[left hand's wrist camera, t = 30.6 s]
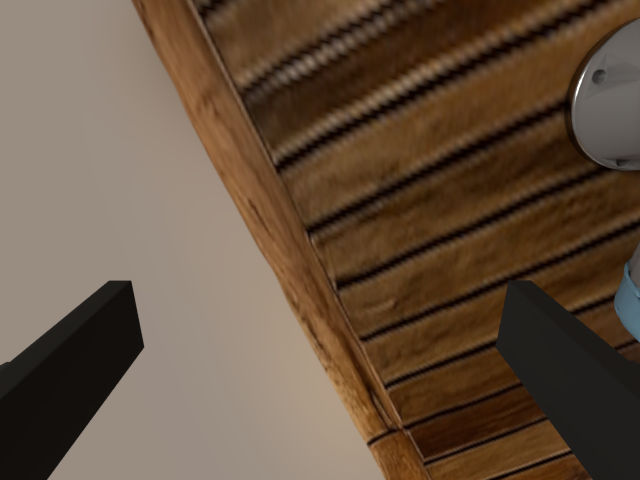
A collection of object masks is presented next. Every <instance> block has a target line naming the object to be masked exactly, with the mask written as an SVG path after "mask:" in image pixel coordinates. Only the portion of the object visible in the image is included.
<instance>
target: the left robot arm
mask: <svg viewBox="0 0 640 480" xmlns="http://www.w3.org/2000/svg"><path fill="white" fill-rule="evenodd" d="M565 124H566V129H567V133H568V136H569V138H570V140H571V142H572V144H573V146H574V147H575V148H576V150H577V151H578V152H579V153H580V154H581V155H582V156H583V157H584V158H586V159H587V160H589V161H590V162H592V163H594V164H597V165H599V166H603V167H607V168H612V169H617V170H629V171H631V170H640V17H639V18H636V19H633V20H631V21H628V22H626V23H624V24H622V25H620V26H618V27H617V28H615V29H614V30H612V31H611V32H609V33H608V34H607V35H605V36H604V37H603V38H602V39H601V40H600V41H598V42H597V43H596V44H595V45H594V47H593V48H592V49H591V50H590V51H589V52H588V53H587V55H586V56H585V57H584V59H583V60H582V62H581V63H580V65H579V66H578V68H577V70H576V72H575V74H574V76H573V78H572V81H571V83H570V86H569V89H568V92H567V97H566V102H565ZM614 306H615V310H616V312H617V315H618V316H619V318H620V320H621V322H622V324H623V325H624V327H625V328H626V329H627V330H628V331H629V332H630V333H631V334H632V335H633V336H634V337H635V338H636V339H637V340H638V341H639V342H640V242H639V244H638V246H637V248H636V250H635V252H634V254H633V255H632V257H631V259H630V260H629V261H628V262H627V263H626V264H625V267H624V276H623V279H622V281H621V284H620V286H619V288H618V291H617V293H616V295H615V300H614ZM143 348H144V343H143V338H142V333H141V328H140V323H139V318H138V313H137V308H136V303H135V297H134V293H133V287H132V282H131V281H108V282H107V283H106V284H104V285H103V286H102V287H101V288H100V289H98V290H97V291H96V292H95V293H93V294H92V295H91V296H90V297H89V298H87V299H86V300H85V301H84V302H82V303H81V304H80V305H79V306H78V307H76V308H75V309H74V310H73V311H71V312H70V313H69V314H68V315H67V316H65V317H64V318H63V319H62V320H61V321H59V322H58V323H57V324H56V325H54V326H53V327H52V328H51V329H50V330H48V331H47V332H46V333H45V334H43V335H42V336H41V337H40V338H39V339H37V340H36V341H35V342H34V343H33V344H31V345H30V346H29V347H28V348H26V349H25V350H24V351H23V352H22V353H20V354H19V355H18V356H17V357H15V358H14V359H13V360H12V361H11V362H6V363H4V364H2V365H0V480H47V479H48V478H49V476H50V475H51V474H52V472H53V471H54V470H55V468H56V467H57V465H58V464H59V463H60V461H61V460H62V459H63V457H64V456H65V455H66V453H67V452H68V450H69V449H70V448H71V446H72V445H73V444H74V442H75V441H76V440H77V438H78V437H79V435H80V434H81V433H82V431H83V430H84V429H85V427H86V426H87V425H88V423H89V422H90V420H91V419H92V418H93V416H94V415H95V414H96V412H97V411H98V410H99V408H100V407H101V405H102V404H103V403H104V401H105V400H106V399H107V397H108V396H109V395H110V393H111V392H112V390H113V389H114V388H115V386H116V385H117V384H118V382H119V381H120V380H121V378H122V377H123V375H124V374H125V373H126V371H127V370H128V369H129V367H130V366H131V365H132V363H133V362H134V361H135V359H136V358H137V356H138V355H139V354H140V352H141V351H142V350H143ZM496 348H497V350H498V351H499V352H500V354H501V355H502V356H503V358H504V359H505V361H506V362H507V363H508V365H509V366H510V367H511V369H512V370H513V371H514V373H515V374H516V376H517V377H518V378H519V380H520V381H521V382H522V384H523V385H524V386H525V388H526V389H527V390H528V392H529V393H530V395H531V396H532V397H533V399H534V400H535V401H536V403H537V404H538V405H539V407H540V408H541V410H542V411H543V412H544V414H545V415H546V416H547V418H548V419H549V420H550V422H551V423H552V425H553V426H554V427H555V429H556V430H557V431H558V433H559V434H560V435H561V437H562V438H563V440H564V441H565V442H566V444H567V445H568V446H569V448H570V449H571V450H572V452H573V453H574V455H575V456H576V457H577V459H578V460H579V461H580V463H581V464H582V465H583V467H584V468H585V470H586V471H587V472H588V474H589V475H590V476H591V478H592V479H593V480H640V364H639V363H637V362H635V361H628V360H627V359H626V358H625V357H623V356H622V355H621V354H620V353H619V352H617V351H616V350H615V349H614V348H612V347H611V346H610V345H609V344H608V343H606V342H605V341H604V340H603V339H601V338H600V337H599V336H598V335H597V334H595V333H594V332H593V331H592V330H590V329H589V328H588V327H587V326H586V325H584V324H583V323H582V322H581V321H579V320H578V319H577V318H576V317H575V316H573V315H572V314H571V313H570V312H569V311H567V310H566V309H565V308H564V307H562V306H561V305H560V304H559V303H558V302H556V301H555V300H554V299H553V298H551V297H550V296H549V295H548V294H547V293H545V292H544V291H543V290H542V289H540V288H539V287H538V286H537V285H536V284H534V283H533V282H532V281H509V282H508V287H507V292H506V297H505V302H504V308H503V313H502V318H501V323H500V328H499V333H498V338H497V343H496Z"/></svg>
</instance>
